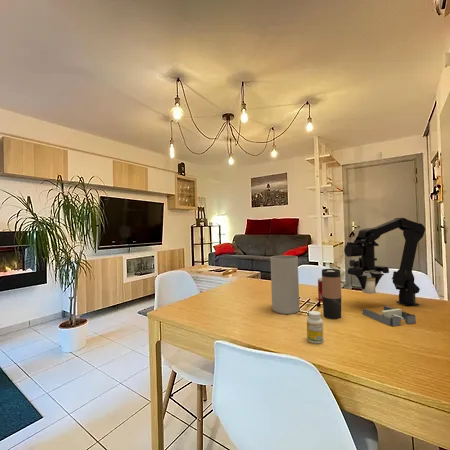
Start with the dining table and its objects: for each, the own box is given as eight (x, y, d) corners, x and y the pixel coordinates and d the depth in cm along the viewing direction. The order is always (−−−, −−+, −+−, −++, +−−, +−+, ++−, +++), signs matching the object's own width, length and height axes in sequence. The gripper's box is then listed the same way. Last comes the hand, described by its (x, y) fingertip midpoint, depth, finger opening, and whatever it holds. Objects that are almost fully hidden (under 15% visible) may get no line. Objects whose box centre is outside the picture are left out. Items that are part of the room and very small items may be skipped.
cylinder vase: (304, 309, 123) (302, 256, 123) (291, 316, 113) (289, 259, 113) (280, 304, 131) (279, 254, 131) (267, 310, 122) (265, 257, 122)
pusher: (399, 317, 108) (399, 308, 108) (412, 322, 102) (411, 312, 102) (381, 319, 106) (381, 310, 106) (393, 324, 100) (393, 315, 100)
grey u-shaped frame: (385, 311, 116) (385, 304, 116) (417, 322, 102) (416, 315, 102) (362, 314, 114) (362, 307, 114) (391, 326, 99) (391, 318, 99)
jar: (369, 290, 126) (368, 276, 126) (378, 293, 121) (378, 278, 121) (359, 291, 125) (358, 277, 125) (368, 294, 119) (368, 279, 119)
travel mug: (341, 314, 115) (339, 268, 115) (342, 320, 107) (341, 272, 107) (322, 312, 117) (321, 268, 117) (323, 318, 110) (321, 271, 110)
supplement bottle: (320, 345, 86) (319, 316, 86) (304, 341, 90) (303, 313, 90) (325, 339, 90) (324, 312, 90) (310, 335, 94) (309, 309, 94)
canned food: (336, 302, 131) (335, 280, 131) (319, 302, 133) (319, 280, 132) (333, 298, 138) (332, 277, 138) (317, 298, 140) (316, 277, 140)
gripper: (370, 253, 133) (371, 283, 133) (339, 255, 128) (340, 286, 128) (389, 255, 122) (390, 288, 122) (355, 257, 118) (356, 292, 118)
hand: (368, 288), depth 123 cm, fingers closed on jar, 5 cm apart
